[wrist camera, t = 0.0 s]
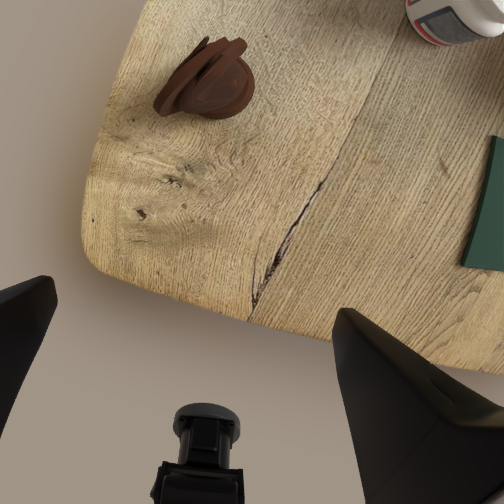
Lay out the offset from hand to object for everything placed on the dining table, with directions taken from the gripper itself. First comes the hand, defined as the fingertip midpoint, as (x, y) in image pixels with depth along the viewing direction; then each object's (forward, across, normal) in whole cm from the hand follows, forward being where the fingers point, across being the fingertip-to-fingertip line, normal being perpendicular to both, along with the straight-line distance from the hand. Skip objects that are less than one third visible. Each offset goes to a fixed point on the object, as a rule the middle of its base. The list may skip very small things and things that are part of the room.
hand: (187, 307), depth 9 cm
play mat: (+14, -28, -3) cm, 31 cm away
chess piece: (+14, +1, -7) cm, 16 cm away
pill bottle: (+14, -14, -17) cm, 26 cm away
